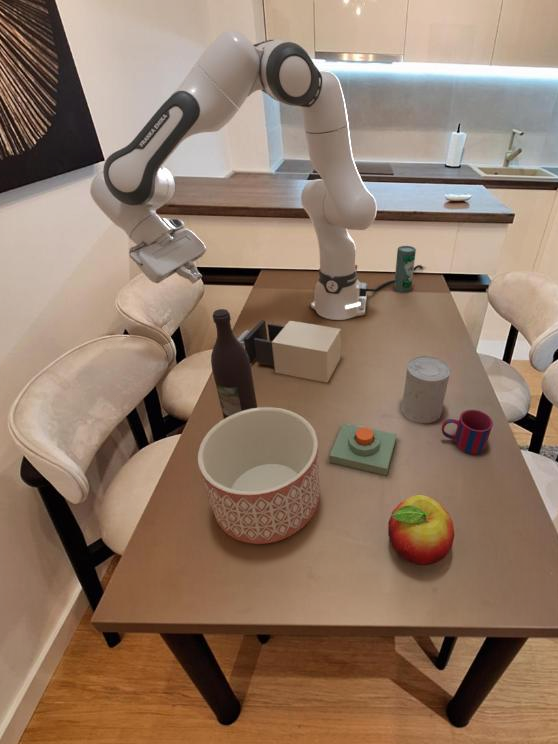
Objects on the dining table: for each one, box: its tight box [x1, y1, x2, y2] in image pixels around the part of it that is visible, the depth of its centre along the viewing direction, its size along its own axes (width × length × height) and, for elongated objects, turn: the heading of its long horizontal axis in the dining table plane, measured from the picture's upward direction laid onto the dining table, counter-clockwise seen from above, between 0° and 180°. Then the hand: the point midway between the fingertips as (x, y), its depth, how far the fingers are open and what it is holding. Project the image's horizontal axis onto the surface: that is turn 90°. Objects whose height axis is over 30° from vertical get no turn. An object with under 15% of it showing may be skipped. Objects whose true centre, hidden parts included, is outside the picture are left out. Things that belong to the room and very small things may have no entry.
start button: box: [356, 426, 373, 446], centre depth 82 cm, size 4×4×2 cm
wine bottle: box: [210, 308, 258, 419], centre depth 78 cm, size 7×7×30 cm
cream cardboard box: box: [272, 320, 342, 384], centre depth 106 cm, size 15×12×10 cm
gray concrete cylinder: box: [401, 355, 452, 424], centre depth 92 cm, size 10×10×12 cm
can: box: [393, 245, 417, 293], centre depth 144 cm, size 6×6×15 cm
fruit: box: [387, 494, 455, 567], centre depth 65 cm, size 11×11×10 cm
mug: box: [441, 409, 494, 455], centre depth 85 cm, size 7×10×7 cm
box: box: [328, 422, 397, 476], centre depth 83 cm, size 10×12×4 cm
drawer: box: [237, 319, 286, 367], centre depth 108 cm, size 18×10×8 cm, turn 74°
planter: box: [197, 406, 321, 545], centre depth 70 cm, size 19×19×15 cm
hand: (198, 280), depth 102 cm, fingers closed
